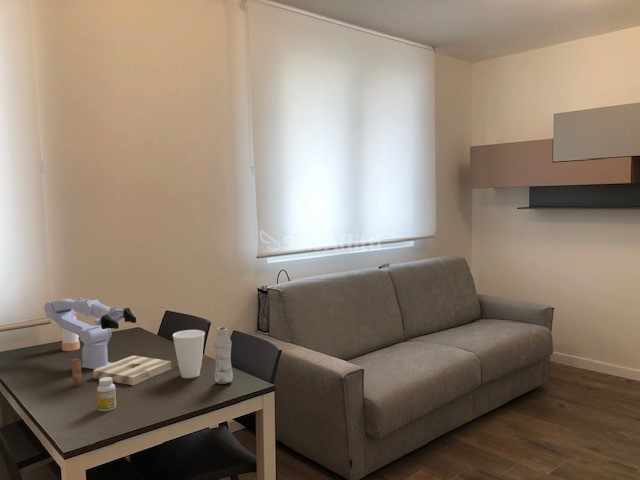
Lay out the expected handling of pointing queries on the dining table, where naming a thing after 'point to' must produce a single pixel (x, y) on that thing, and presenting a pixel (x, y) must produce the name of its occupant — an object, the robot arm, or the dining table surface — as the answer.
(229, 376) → the plastic bottle
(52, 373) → the dining table surface
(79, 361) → the peg
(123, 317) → the robot arm
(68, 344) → the salt shaker
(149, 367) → the socket block
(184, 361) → the cup
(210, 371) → the dining table surface
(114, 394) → the supplement bottle
